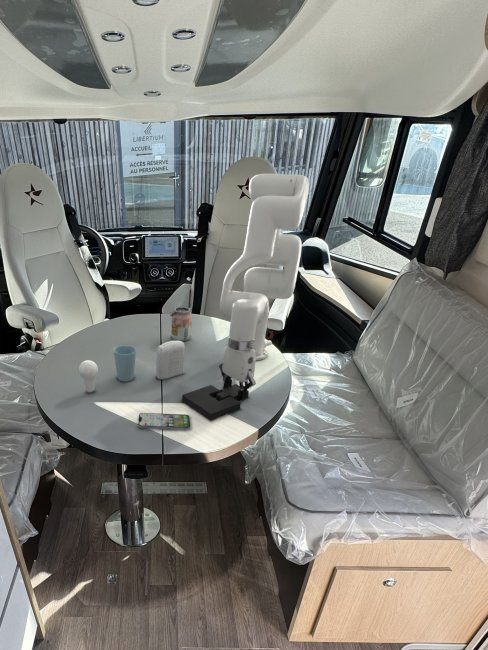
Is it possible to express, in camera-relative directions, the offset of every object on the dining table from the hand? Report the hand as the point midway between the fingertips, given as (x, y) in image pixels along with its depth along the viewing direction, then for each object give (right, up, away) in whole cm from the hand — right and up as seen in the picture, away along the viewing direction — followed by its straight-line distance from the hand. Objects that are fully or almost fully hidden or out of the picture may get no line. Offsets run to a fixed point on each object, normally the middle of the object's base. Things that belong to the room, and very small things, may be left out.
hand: (234, 395), depth 142 cm
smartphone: (-23, -10, -12) cm, 28 cm away
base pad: (-8, -4, -4) cm, 10 cm away
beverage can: (-15, +29, +40) cm, 52 cm away
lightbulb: (-47, +1, +3) cm, 47 cm away
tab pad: (-1, -1, 0) cm, 2 cm away
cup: (-36, +7, +11) cm, 38 cm away
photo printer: (-20, +9, +13) cm, 25 cm away
